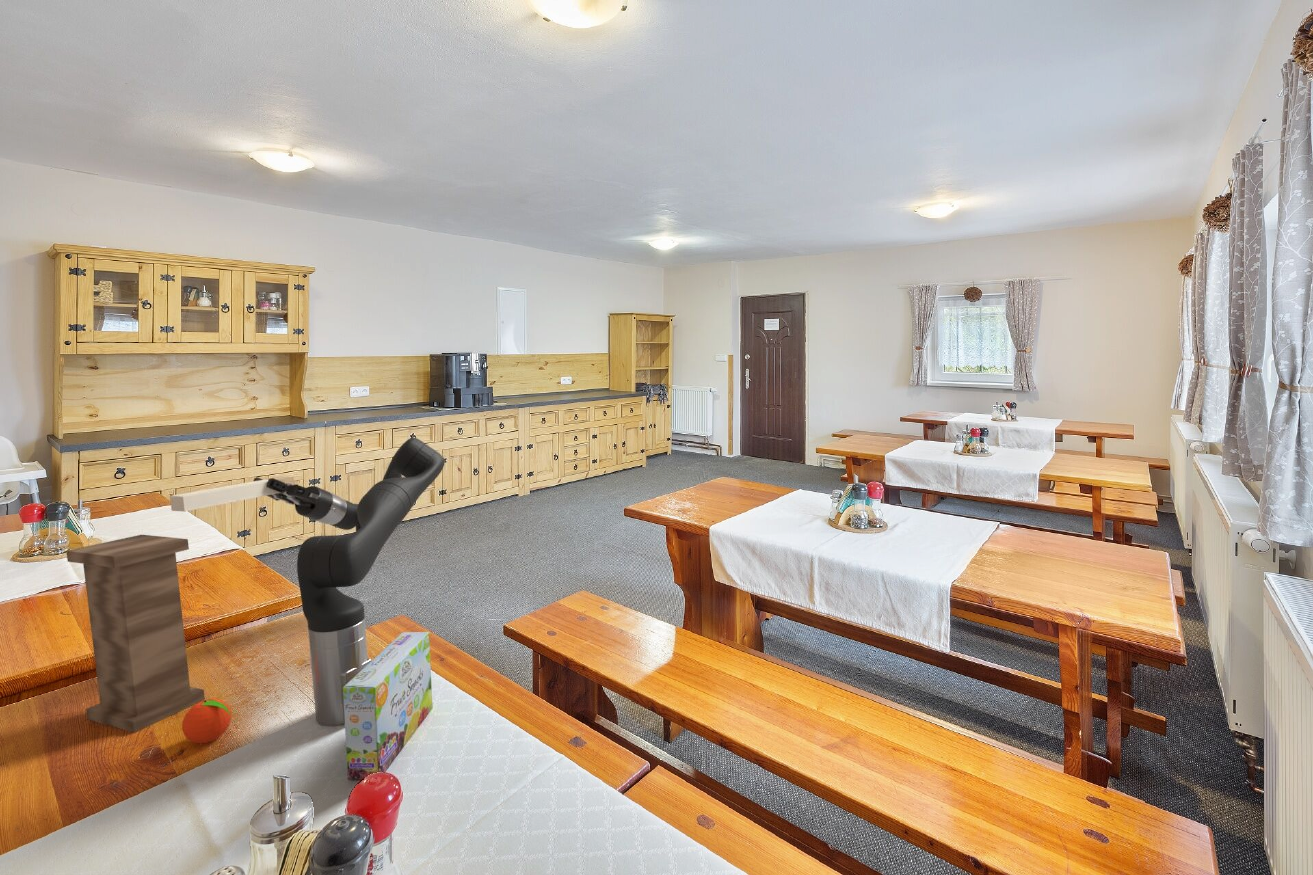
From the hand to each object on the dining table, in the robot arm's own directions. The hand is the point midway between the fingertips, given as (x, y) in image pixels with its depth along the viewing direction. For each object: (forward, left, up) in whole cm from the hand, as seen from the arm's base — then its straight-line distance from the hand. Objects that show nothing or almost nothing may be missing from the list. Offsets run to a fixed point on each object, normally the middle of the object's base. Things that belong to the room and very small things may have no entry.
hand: (261, 482), depth 138 cm
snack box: (-54, +20, -40) cm, 70 cm away
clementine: (-23, +30, -40) cm, 55 cm away
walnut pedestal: (0, +27, -39) cm, 48 cm away
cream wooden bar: (0, +6, -3) cm, 6 cm away
